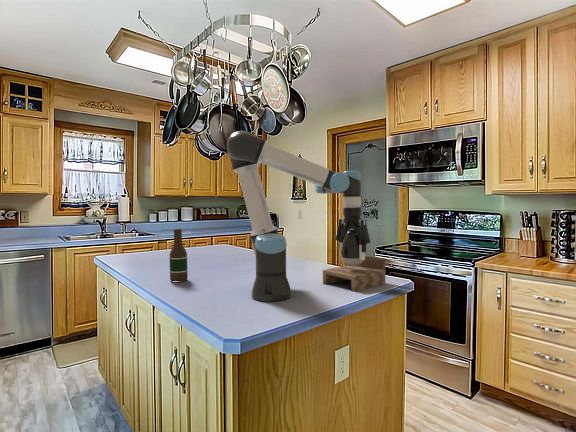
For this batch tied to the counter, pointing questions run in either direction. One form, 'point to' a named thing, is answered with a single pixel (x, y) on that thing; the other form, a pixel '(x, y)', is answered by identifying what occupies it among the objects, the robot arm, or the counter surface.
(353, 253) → the dark grey egg shape
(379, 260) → the walnut shelf
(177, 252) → the beer bottle
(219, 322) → the counter surface
